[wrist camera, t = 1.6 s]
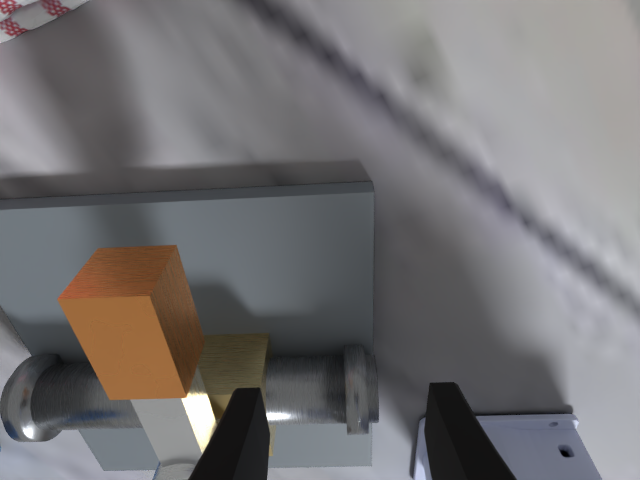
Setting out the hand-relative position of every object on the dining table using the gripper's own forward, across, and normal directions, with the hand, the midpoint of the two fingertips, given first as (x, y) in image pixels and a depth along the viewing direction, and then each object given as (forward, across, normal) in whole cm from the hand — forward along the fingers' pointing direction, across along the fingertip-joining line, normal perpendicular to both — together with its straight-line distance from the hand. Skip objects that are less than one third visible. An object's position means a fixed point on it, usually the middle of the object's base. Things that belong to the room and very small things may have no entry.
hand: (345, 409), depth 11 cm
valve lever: (+4, +7, +4) cm, 9 cm away
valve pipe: (+9, +8, +8) cm, 14 cm away
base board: (+9, +8, +8) cm, 14 cm away
